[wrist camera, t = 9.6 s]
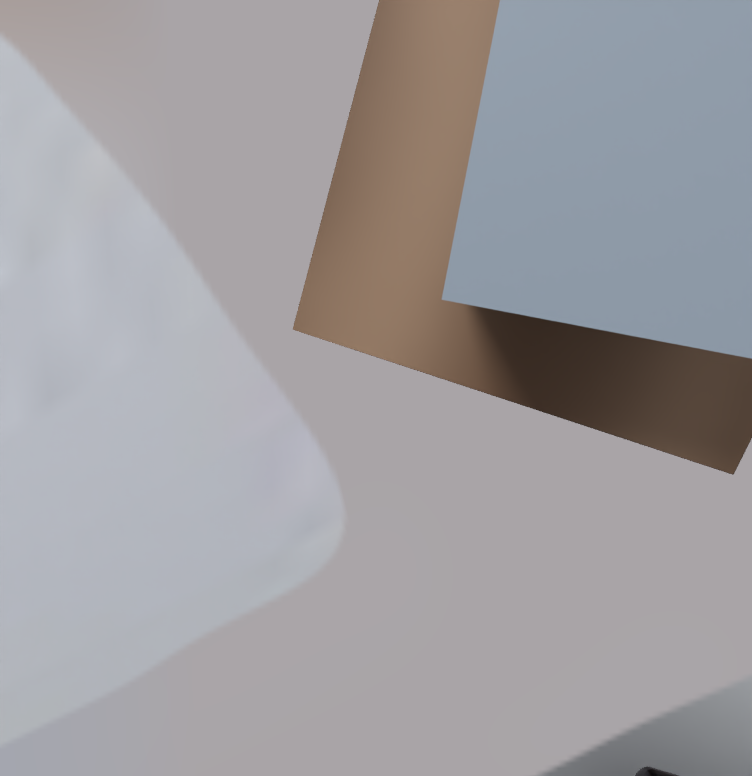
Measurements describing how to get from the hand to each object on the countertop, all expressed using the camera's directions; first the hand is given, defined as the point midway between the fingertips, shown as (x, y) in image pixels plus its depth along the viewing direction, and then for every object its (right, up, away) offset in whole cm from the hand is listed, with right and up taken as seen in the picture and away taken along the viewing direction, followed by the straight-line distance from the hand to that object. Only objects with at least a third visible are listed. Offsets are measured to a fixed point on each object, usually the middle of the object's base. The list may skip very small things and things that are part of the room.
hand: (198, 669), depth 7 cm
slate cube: (+6, +7, +6) cm, 12 cm away
